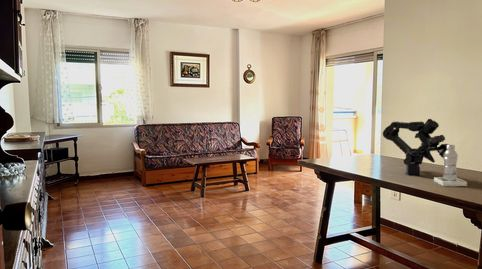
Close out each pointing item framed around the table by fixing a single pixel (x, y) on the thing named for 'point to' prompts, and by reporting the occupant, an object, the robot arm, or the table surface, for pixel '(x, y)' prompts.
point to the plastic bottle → (450, 164)
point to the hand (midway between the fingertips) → (441, 161)
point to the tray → (446, 183)
